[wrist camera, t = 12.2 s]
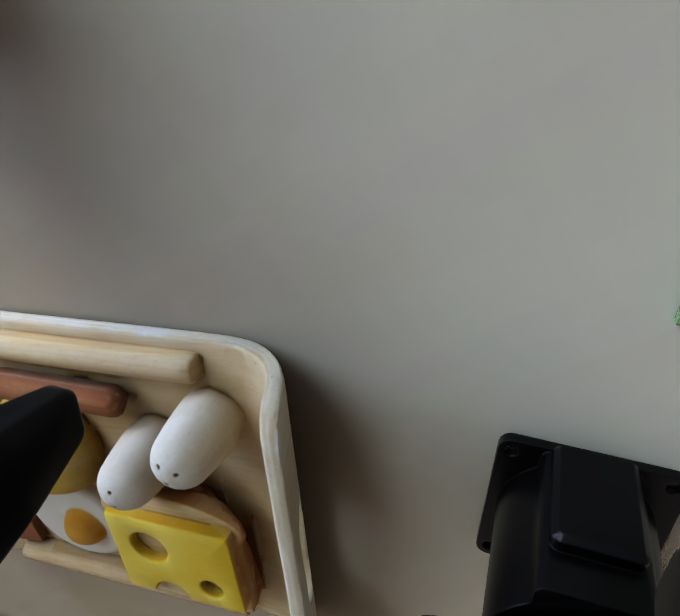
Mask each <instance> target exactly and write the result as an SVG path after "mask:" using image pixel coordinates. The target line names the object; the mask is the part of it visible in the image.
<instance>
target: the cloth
mask: <svg viewBox="0 0 680 616" xmlns="http://www.w3.org/2000/svg"><path fill="white" fill-rule="evenodd" d="M674 320H675V324H676V325H680V306H679V309H678V311H677V314H676V317H675V319H674Z"/></svg>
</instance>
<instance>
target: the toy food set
mask: <svg viewBox="0 0 680 616" xmlns="http://www.w3.org/2000/svg"><path fill="white" fill-rule="evenodd" d="M49 385H54V386H58V387H62V388H66V389H70V390H72V391H73V392H74V393H75V394H76V396H77V399H78V403H79V407H80V410H81V414H82V418H83V421H84V425H85V433H84V437H83V440H82V442H81V444H80V445H79V447H78V448H77V450H76V452H75V453H74V455H73V456H72V458H71V460H70V461H69V463H68V465H67V466H66V468H65V469H64V471H63V473H62V474H61V476H60V477H59V479H58V481H57V482H56V484H55V486H54V487H53V489H52V490H51V492H50V494H49V495H48V497H47V498H46V500H45V502H44V503H43V505H42V507H41V508H40V510H39V511H38V513H37V514H36V516H35V517H34V519H33V520H32V522H31V523H30V525H29V526H28V527H27V529H26V530H25V532H24V533H23V534H22V536H21V537H20V538H19V540H18V541H17V542H16V544H15V545H14V546H13V548H12V549H23V555H24V556H25V557H26V558H30V559H33V560H37V561H41V562H45V563H49V564H53V565H56V566H60V567H64V568H67V569H71V570H75V571H78V572H82V573H86V574H90V575H93V576H97V577H101V578H105V579H109V580H112V581H116V582H120V583H124V584H128V585H132V586H136V587H140V588H143V589H147V590H151V591H155V592H159V593H163V594H167V595H171V596H175V597H179V598H183V599H186V600H190V601H194V602H198V603H201V604H205V605H209V606H213V607H216V608H220V609H224V610H228V611H231V612H235V613H239V614H243V615H249V614H250V613H253V612H254V611H255V608H256V609H260V610H263V611H266V612H269V613H272V614H275V615H278V616H317V614H316V606H315V599H314V591H313V584H312V577H311V570H310V563H309V556H308V549H307V542H306V534H305V527H304V520H303V513H302V506H301V499H300V490H299V483H298V476H297V469H296V462H295V455H294V447H293V440H292V432H291V425H290V418H289V410H288V402H287V395H286V387H285V380H284V376H283V372H282V369H281V366H280V364H279V362H278V361H277V359H276V357H275V356H274V355H273V354H272V353H271V352H270V351H269V350H268V349H266V348H265V347H263V346H261V345H260V344H257V343H255V342H253V341H250V340H246V339H243V338H239V337H233V336H226V335H220V334H212V333H204V332H195V331H186V330H177V329H169V328H159V327H150V326H140V325H131V324H121V323H112V322H102V321H93V320H84V319H74V318H64V317H54V316H45V315H35V314H26V313H17V312H9V311H1V310H0V404H2V403H4V402H7V401H9V400H12V399H14V398H17V397H19V396H22V395H24V394H27V393H29V392H32V391H34V390H37V389H40V388H42V387H45V386H49ZM12 549H11V550H12Z"/></svg>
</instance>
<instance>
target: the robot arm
mask: <svg viewBox="0 0 680 616" xmlns="http://www.w3.org/2000/svg"><path fill="white" fill-rule="evenodd" d="M84 433H85V425H84V421H83V418H82V414H81V410H80V407H79V403H78V399H77V396H76V394H75V393H74V392H73V391H72V390H70V389H66V388H62V387H58V386H54V385H49V386H45V387H42V388H40V389H37V390H34V391H32V392H29V393H27V394H24V395H22V396H19V397H17V398H14V399H12V400H9V401H7V402H4V403H2V404H0V564H1V562H2V561H3V560H4V558H5V557H6V556H7V554H8V553H9V552H10V550H11V549H12V548H13V546H14V545H15V544H16V542H17V541H18V540H19V538H20V537H21V536H22V534H23V533H24V532H25V530H26V529H27V527H28V526H29V525H30V523H31V522H32V520H33V519H34V517H35V516H36V514H37V513H38V511H39V510H40V508H41V507H42V505H43V503H44V502H45V500H46V498H47V497H48V495H49V494H50V492H51V490H52V489H53V487H54V486H55V484H56V482H57V481H58V479H59V477H60V476H61V474H62V473H63V471H64V469H65V468H66V466H67V465H68V463H69V461H70V460H71V458H72V456H73V455H74V453H75V452H76V450H77V448H78V447H79V445H80V444H81V442H82V440H83V437H84ZM509 445H512V446H515V447H517V448H509V447H508V446H509ZM669 484H678V485H676V486H669ZM679 513H680V472H679V471H676V470H672V469H667V468H663V467H659V466H654V465H650V464H645V463H641V462H637V461H632V460H628V459H624V458H619V457H615V456H611V455H606V454H602V453H598V452H593V451H589V450H585V449H580V448H576V447H571V446H567V445H563V444H558V443H554V442H550V441H545V440H541V439H537V438H532V437H528V436H524V435H519V434H515V433H507V434H504V435H502V436H501V437H500V439H499V442H498V446H497V450H496V455H495V459H494V464H493V468H492V473H491V477H490V481H489V486H488V490H487V495H486V499H485V504H484V508H483V513H482V517H481V521H480V526H479V530H478V535H477V542H476V543H477V546H478V548H479V549H480V550H482V551H483V552H486V553H489V554H490V558H489V566H488V574H487V582H486V590H485V598H484V605H483V613H482V616H680V548H679V549H677V550H676V551H675V552H674V554H673V556H672V558H671V560H670V562H669V564H668V566H667V568H666V570H665V572H664V571H663V565H662V558H661V550H662V548H663V546H664V544H665V542H666V540H667V538H668V536H669V534H670V532H671V530H672V528H673V526H674V524H675V522H676V520H677V518H678V515H679ZM488 541H490V542H488ZM422 616H434V615H422Z"/></svg>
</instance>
